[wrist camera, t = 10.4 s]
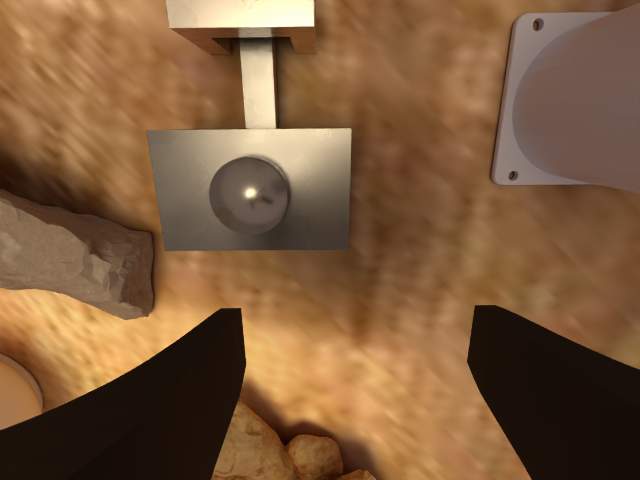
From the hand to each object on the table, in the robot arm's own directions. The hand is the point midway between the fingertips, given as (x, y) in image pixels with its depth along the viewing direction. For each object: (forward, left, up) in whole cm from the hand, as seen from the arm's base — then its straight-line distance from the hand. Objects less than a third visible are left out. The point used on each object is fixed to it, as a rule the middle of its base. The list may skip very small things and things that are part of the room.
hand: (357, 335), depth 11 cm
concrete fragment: (+16, -1, -10) cm, 20 cm away
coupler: (+4, -8, -10) cm, 13 cm away
